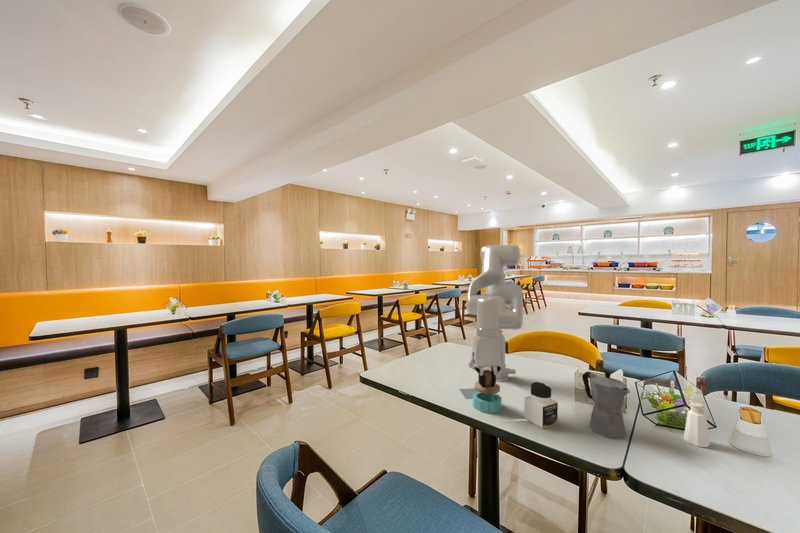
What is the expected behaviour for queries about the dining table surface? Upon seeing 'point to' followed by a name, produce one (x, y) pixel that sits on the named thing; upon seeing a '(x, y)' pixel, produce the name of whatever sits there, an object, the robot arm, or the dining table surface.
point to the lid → (487, 384)
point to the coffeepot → (606, 404)
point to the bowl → (487, 402)
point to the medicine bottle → (541, 406)
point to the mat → (468, 393)
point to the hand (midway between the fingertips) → (487, 385)
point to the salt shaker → (696, 426)
